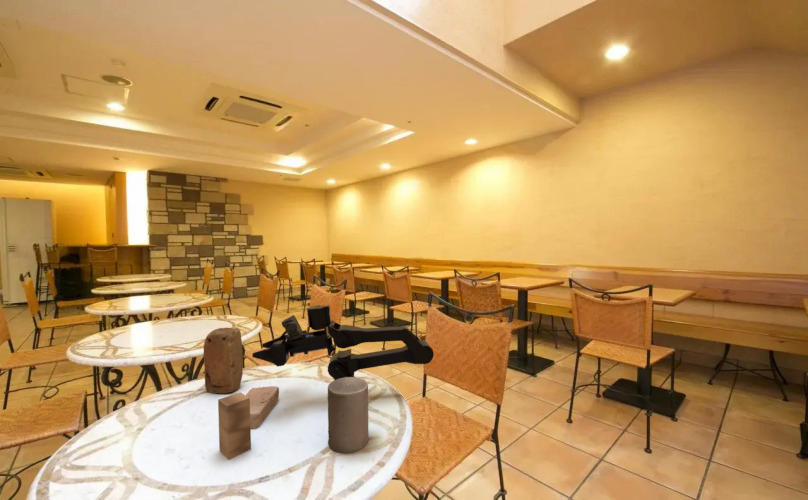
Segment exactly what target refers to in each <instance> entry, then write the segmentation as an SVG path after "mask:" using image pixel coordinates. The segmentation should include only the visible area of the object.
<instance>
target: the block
mask: <svg viewBox="0 0 808 500" xmlns="http://www.w3.org/2000/svg"><path fill="white" fill-rule="evenodd" d="M206 335H207V336H206V337H205V340H204V342H203V343H204V344H203V367H204V370H205V371H204V387H205V390H206V391H207V392H211V393H217V394H228V393H232V392H234V391H237V390H238V389H239V388H240V386H241V382H242V379H243V373H244V371H243V369H244V367H243V366H244V365H243V362H244V361H243V341H242V333H241V329H240V328H236V327H235V328H232V327H218V328H216V329H213V330H212V331H210V332H209V333H208V334H206Z"/></svg>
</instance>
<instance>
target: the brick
mask: <svg viewBox="0 0 808 500" xmlns="http://www.w3.org/2000/svg"><path fill="white" fill-rule="evenodd" d="M279 394H280V387H279V386H274V385H272V386H261V387H260V386H259V387H252V388H250V389H249V390H248V391H247V393H246V394H245V395H246V396H247V397H249V398H250V429H251V430H256V429H258V428H260V426H261V425H262V423H263V422H264V420H265V418H267V416H268V415H269V414H270V412H271V411H272V409H274V407H275V406H276V404H277V402H278V401H279V397H280V395H279Z"/></svg>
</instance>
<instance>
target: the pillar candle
mask: <svg viewBox="0 0 808 500" xmlns="http://www.w3.org/2000/svg"><path fill="white" fill-rule="evenodd" d="M327 423H328V426H327V427H328V430H327V434H328V439H327V445H328V447H329V449H331V450H332V451H334V452H336V453H338V454H339V453H340V454H351V453H355V452H358V451H360V450H362V449H364V448H365V447H366V446H367V444H368V443H369V383H368V382H367V380H366V379H365V378H361V377H357V376H354V377H345V378H340V379H337V380H334V379H333V380H332V381H331V382H330V383H329V384H328V385H327Z"/></svg>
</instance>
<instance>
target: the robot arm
mask: <svg viewBox="0 0 808 500" xmlns="http://www.w3.org/2000/svg"><path fill="white" fill-rule="evenodd" d="M306 314H307V322H308V327H309V328H311V330H312V331H308V330H306V329H305V330H303V329H302V327H301V325H300V323H299V321H298V319H297V317H296V316H295V315H290V316H289V317H287V318H285V319H284V320H282V321H281V326H282V328H284V330H285V331H284V332H282V334H281V335H279V336H278V337H275V338H274V339H271V340H269V341H266V342H263V343H262V344H261V345H262V348H264V349H261V350H257V351H255V352H253V353H252V358H254V359H258V360H261V361H265V362H268V363H271V364H273V365H275V366H276V367H282V366H285V365H286V364H287V362H288V361H289V360H290V357H291V358H292V357H294V356H295V355H297V354H298V355H299V354H303V353H304V355H308V354H309V352H316V351H322V350H327V351H326V352H327V355H328V356H331V355H332V356H331V357H330V359H329V362H328V365H327V373H328V375H329V377H332V378H333V381H334V380H337V379H340V378H345V377H355V372H357V371H360V370H365V369H372V368H377V367H383V366H389V365H395V364H401V363H408V364H413V365H427V364H429V363H431V362H432V360H433V358H434V356H435V355H434V350H433V348H432V347H431V345H430V344H429V343H428V341H426V340H425V339H420V338H419V337H418V335H416V334H415V333H413V332H412V331H411V330H410V329H409V327H407V326H406V325H401V326H387V327H386V326H384V327H359V326H356V325H348V324H340V323H338V322H336V321H334V320H332V317H331V305H326V304H325V305H321V304H317V305H312V306H308V307H306ZM398 341H399V342H402V343H403V344H404V346H402V347H397V348H396V347H395V348H391V349H383V350H378V351H372V352H365V353H357V354H356V353H352V349H351V347H355V346H358V345H360V344H366V343H380V342H382V343H384V342H398ZM333 343H334V344H333ZM336 348H339V350H338V351H337V352H336V353H334V354H332V353H333V352H334V351H335V350H336ZM347 348H349V349H347ZM340 349H345V350H340Z"/></svg>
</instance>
